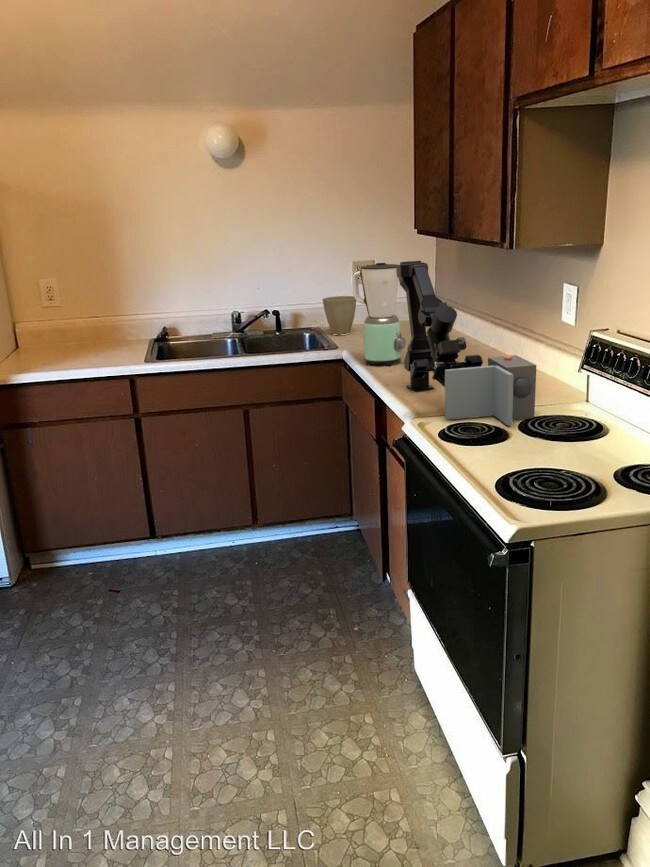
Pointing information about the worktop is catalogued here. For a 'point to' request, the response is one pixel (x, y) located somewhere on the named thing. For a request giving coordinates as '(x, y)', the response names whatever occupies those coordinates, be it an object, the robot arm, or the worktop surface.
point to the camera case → (519, 384)
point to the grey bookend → (479, 393)
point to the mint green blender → (380, 313)
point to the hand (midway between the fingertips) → (453, 393)
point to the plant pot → (340, 313)
